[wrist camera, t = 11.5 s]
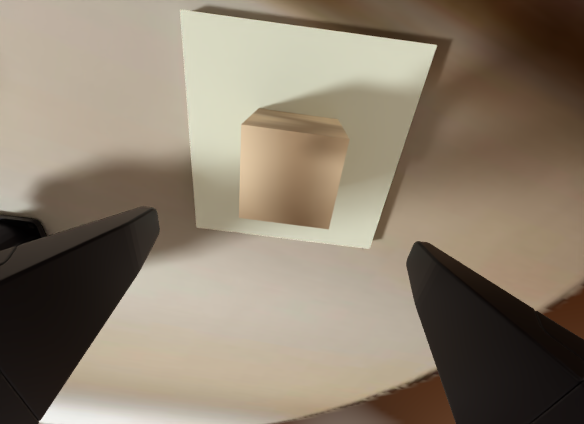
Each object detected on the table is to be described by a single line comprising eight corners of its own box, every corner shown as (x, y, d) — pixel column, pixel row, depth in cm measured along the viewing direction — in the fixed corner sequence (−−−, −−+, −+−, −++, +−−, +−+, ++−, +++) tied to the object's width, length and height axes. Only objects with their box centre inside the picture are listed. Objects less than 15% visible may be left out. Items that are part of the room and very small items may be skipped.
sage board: (200, 221, 22) (196, 227, 21) (187, 12, 15) (179, 9, 14) (366, 241, 22) (369, 249, 21) (429, 46, 15) (437, 45, 14)
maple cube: (254, 182, 19) (238, 218, 14) (258, 108, 16) (241, 124, 12) (323, 191, 19) (328, 229, 14) (337, 119, 16) (349, 139, 12)
